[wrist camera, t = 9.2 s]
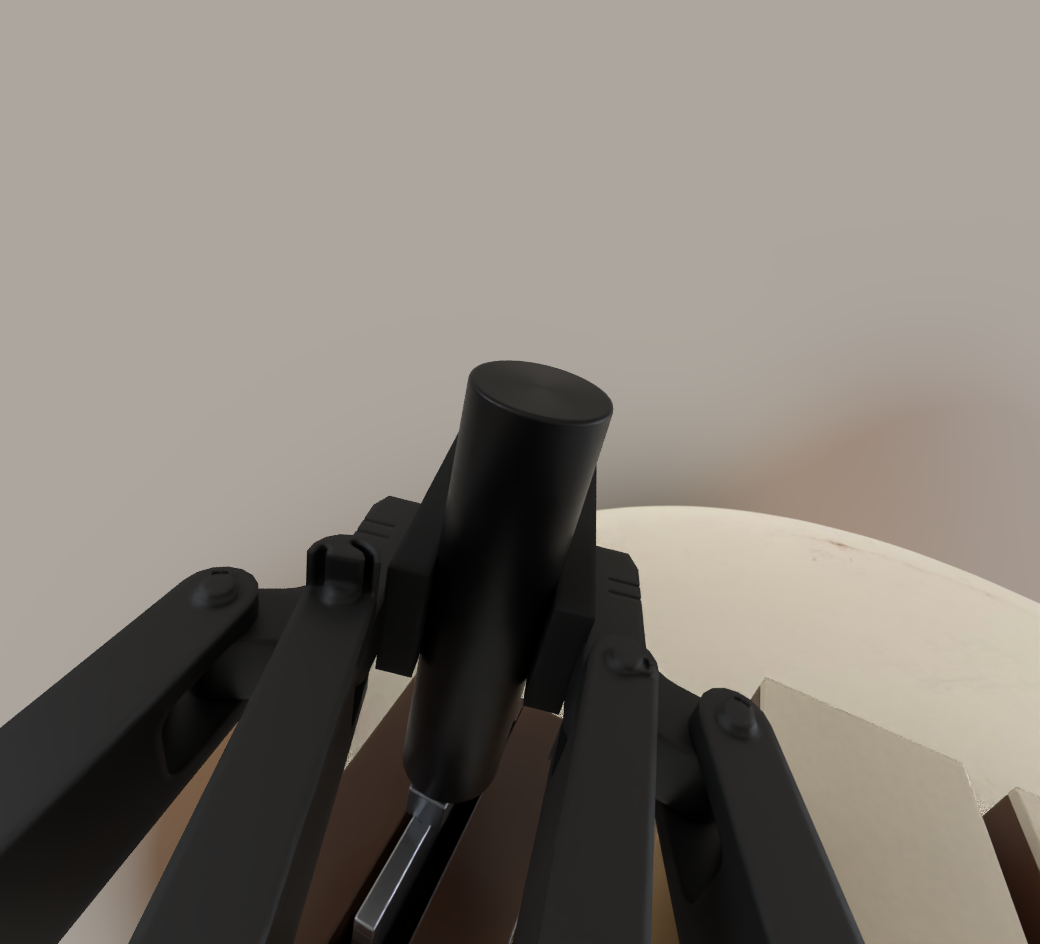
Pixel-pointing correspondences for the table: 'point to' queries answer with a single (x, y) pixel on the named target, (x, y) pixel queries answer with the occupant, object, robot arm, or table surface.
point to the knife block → (475, 859)
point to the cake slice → (1019, 854)
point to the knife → (485, 609)
